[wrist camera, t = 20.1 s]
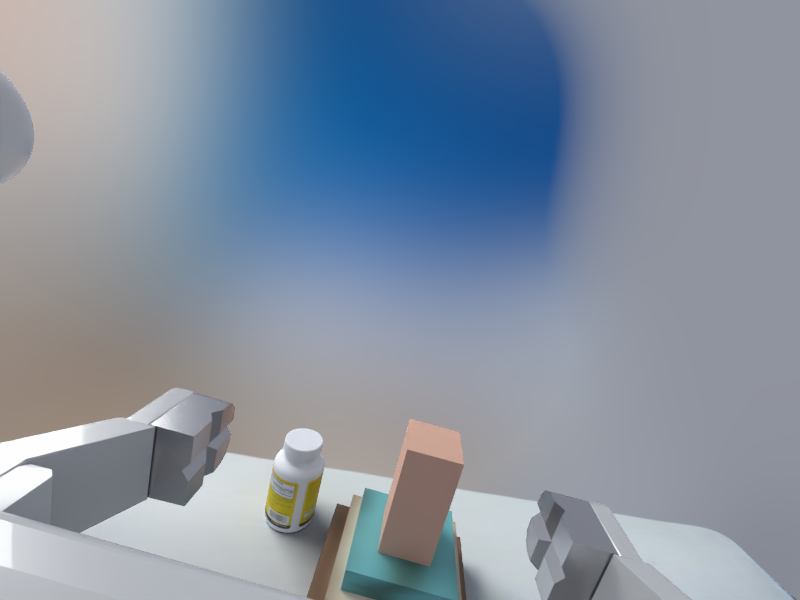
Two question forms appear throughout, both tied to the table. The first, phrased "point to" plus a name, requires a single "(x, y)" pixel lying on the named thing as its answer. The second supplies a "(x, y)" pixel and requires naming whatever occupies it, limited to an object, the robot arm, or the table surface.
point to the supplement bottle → (295, 481)
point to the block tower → (382, 560)
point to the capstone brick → (421, 492)
